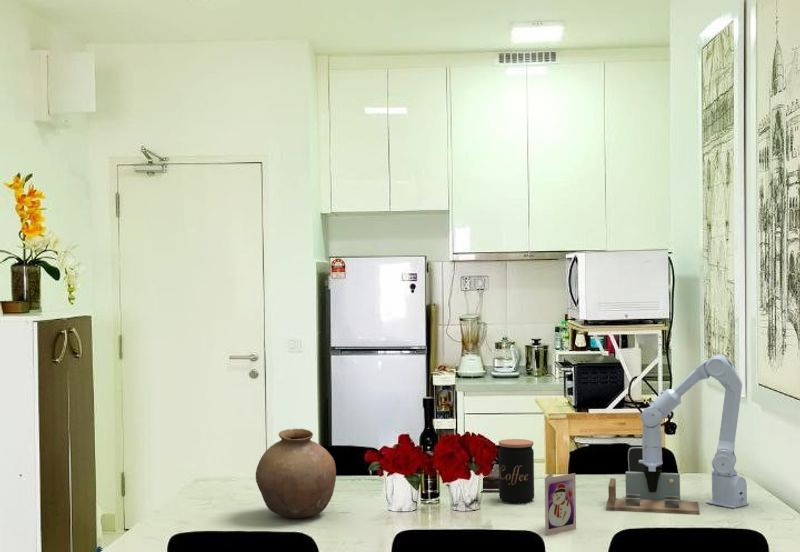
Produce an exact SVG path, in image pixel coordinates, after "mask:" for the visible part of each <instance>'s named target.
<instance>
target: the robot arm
mask: <svg viewBox="0 0 800 552" xmlns="http://www.w3.org/2000/svg"><path fill="white" fill-rule="evenodd" d="M710 377H711V378H713V379H715V380H717V381H718V382H719V383H720V385H721V386H722V387H723V388H724V389H725V391H724V398H723V405H722V406H723V407H722V413H721V421H720V428H719V437H718V444H717V447H716V452H715V454H714V456H713V458H712V460H711V466H712V468H713V470H712V471H711V500H707V501H705V503H706V504H709V505H710V504H711V505H714V506H720V507H726V508H731V509H735V508H739V507H740V508H741V507H743V506H744V507H745V506H748V505H749V502H748V492H747V491H748V488H747V485H748V484H747V480H746V479H745V477H743V476H740V475H739V474H738V471H737V470H736V469H735V466H736V464H737V456H736V454H735V445H736V436H737V428H738V421H739V420H738V419H739V413H740V406H741V397H742V391H743V383H742V380H741V377H740V376H739V374H738V372H737V370H736V368H735V366H734V364H733V362H732V361H731V360H730V359H729V358H728V357H726V356H725V355H723V354H721V353H720V354H719V353H718V354H713V355H712V356H711V357H709V358H708V359H707V360H705V361H703V362H702V363H701V364H699V365H698V366H696V367H695V368H694V369H692V371H691V372H690V373H689V374H688V375H686V377H685V378H683V379H682V380H681V381H680V382H679V384H677V385H676V386H675V387H674V388H673V389H671V388H669V389H668V388H666V389H665V390H664V389H663V390H662V391H660V393H659V394H660V395H659V396H657V398H655V399H654V400H653V401H650V402H649V403H648V405H649V406H648V407H646V408H644V409H643V411H642V412H641V415H640V421H641V423H642V425H641V426H642V432H641V433H642V434H641V436H642V438H641V439H642V441H641V442H642V446H641V447H642V448H643V460H639V463H643V464H644V465H646V466H643V472H644V474H645V476H646V479H647V484H648V489H649V492H656V491H657V486H658V480H659V476H660V474H661V473H663V470H662V469H663V466H662V465H663V450H662V448H663V446H662V441H663V440H662V437H663V436H662V429H661V426H662V425H661V422H662V421H663V419H664V418H665V417H667V416H668V415H670V414H671V413H672V412H673V411H674V410H675V409H676V408H677V407H678V406H679V405H680V404H682V403H681V402H682V401H681V399H682V398H681V397H682V396H683V395H684V394H686V393H687V392H688V391H689V390H690V389H691V388H692V387H693V386H695V385H696V384H697V383H698V382H699V381H701V380H707V379H710Z"/></svg>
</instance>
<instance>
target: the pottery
mask: <svg viewBox="0 0 800 552" xmlns="http://www.w3.org/2000/svg"><path fill="white" fill-rule="evenodd" d="M313 436H314V433H313V432H312V431H311V430H308V429H306V428H292V429H291V428H287V429H284V430H281V431H279V433H278V437H279V438H280V439H281V440H279V441H277V442H275V443H274V444H272V445H270V447H268V448H267V449H266V450H265V451H264V453H263V455H262V456H261V458H260V460H259V462H258V464H257V466H256V471H255V482H256V484H257V487H258V490H259V491H260V494H261V497H262V498H263V502H264V504H265V506H266V507H267V509H268V510H269V511H270V512H272V513H274V514H275V515H278V516H280V517H283V518H290V519H305V518H309V517H313V516H316V515H319V514H320V513H322V512H324V510H325V509H326V508H327V507H328V505H329V503H330V502H331V500H332V497H333V495H334V491H335V486H336V479H337V468H336V463H335V462H336V461H335V460H334V457H333V456H332V455H331V454H330V452H329V451H328V450H327V449H326V448H324V447H323V446H322V445H320V444H319V443H318V442H316V441H313V440H311V439H312V438H313Z"/></svg>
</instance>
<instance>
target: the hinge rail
mask: <svg viewBox="0 0 800 552" xmlns="http://www.w3.org/2000/svg"><path fill="white" fill-rule="evenodd" d="M616 480H617V479H616V478H614V477H611V478H609V482H608V483H609V484H608V489H607V492H608V498H607V501H606V506H605V510H606V511H614V512H615V511H616V512H636V513H661V514H683V515H700V507H699V501H692V500H691V501H688V500H686V501H685V500H680V501H679V496H665V500H645V499H640V494H626V493H625V498H619V497H617V496H616V495H617V490H616V489H617V487H616V486H617V485H616V483H617V482H616Z"/></svg>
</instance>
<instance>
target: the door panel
mask: <svg viewBox="0 0 800 552" xmlns="http://www.w3.org/2000/svg"><path fill="white" fill-rule="evenodd" d="M626 494H640V499H645V500H665V496H679V501H681V476H680V473H678V472H661V474H660V476H659V480H658V486H657V491H656V492H649V489H648V484H647V479H646V476H645V474H644V472H629V471H625V495H626Z"/></svg>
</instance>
